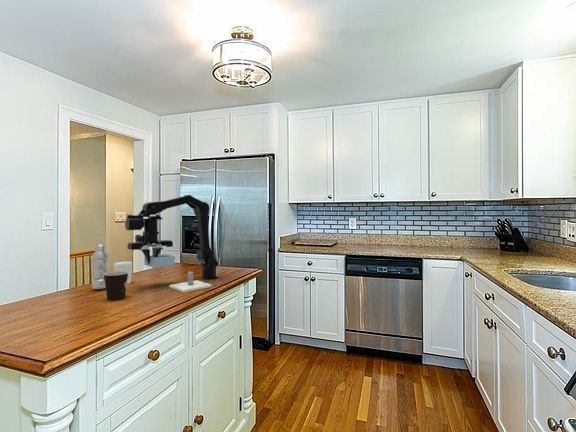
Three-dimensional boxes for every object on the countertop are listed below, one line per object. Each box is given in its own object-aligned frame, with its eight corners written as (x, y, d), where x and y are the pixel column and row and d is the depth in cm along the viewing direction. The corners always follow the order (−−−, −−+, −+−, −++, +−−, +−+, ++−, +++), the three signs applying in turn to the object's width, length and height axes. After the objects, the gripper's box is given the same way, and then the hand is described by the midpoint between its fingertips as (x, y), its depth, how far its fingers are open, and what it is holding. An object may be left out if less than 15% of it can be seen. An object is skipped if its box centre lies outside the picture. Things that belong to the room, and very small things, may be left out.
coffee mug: (117, 301, 121) (117, 276, 121) (98, 300, 123) (98, 275, 123) (137, 294, 133) (137, 270, 133) (120, 293, 134) (119, 269, 134)
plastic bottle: (112, 287, 144) (112, 243, 144) (102, 291, 137) (102, 245, 137) (99, 287, 145) (99, 243, 144) (88, 290, 138) (88, 245, 138)
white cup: (126, 285, 148) (126, 264, 148) (110, 285, 149) (110, 264, 148) (135, 281, 156) (135, 261, 156) (119, 281, 156) (119, 261, 156)
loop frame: (165, 262, 155) (165, 254, 155) (174, 264, 148) (174, 256, 148) (144, 264, 148) (144, 256, 148) (153, 267, 141) (153, 258, 141)
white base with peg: (196, 282, 155) (196, 268, 155) (211, 286, 146) (211, 271, 146) (169, 287, 145) (169, 272, 145) (183, 292, 136) (183, 276, 136)
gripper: (162, 228, 157) (163, 259, 157) (122, 229, 143) (123, 263, 144) (173, 229, 149) (173, 261, 149) (132, 230, 136) (132, 266, 136)
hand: (151, 263), depth 145 cm, fingers closed on loop frame, 2 cm apart
